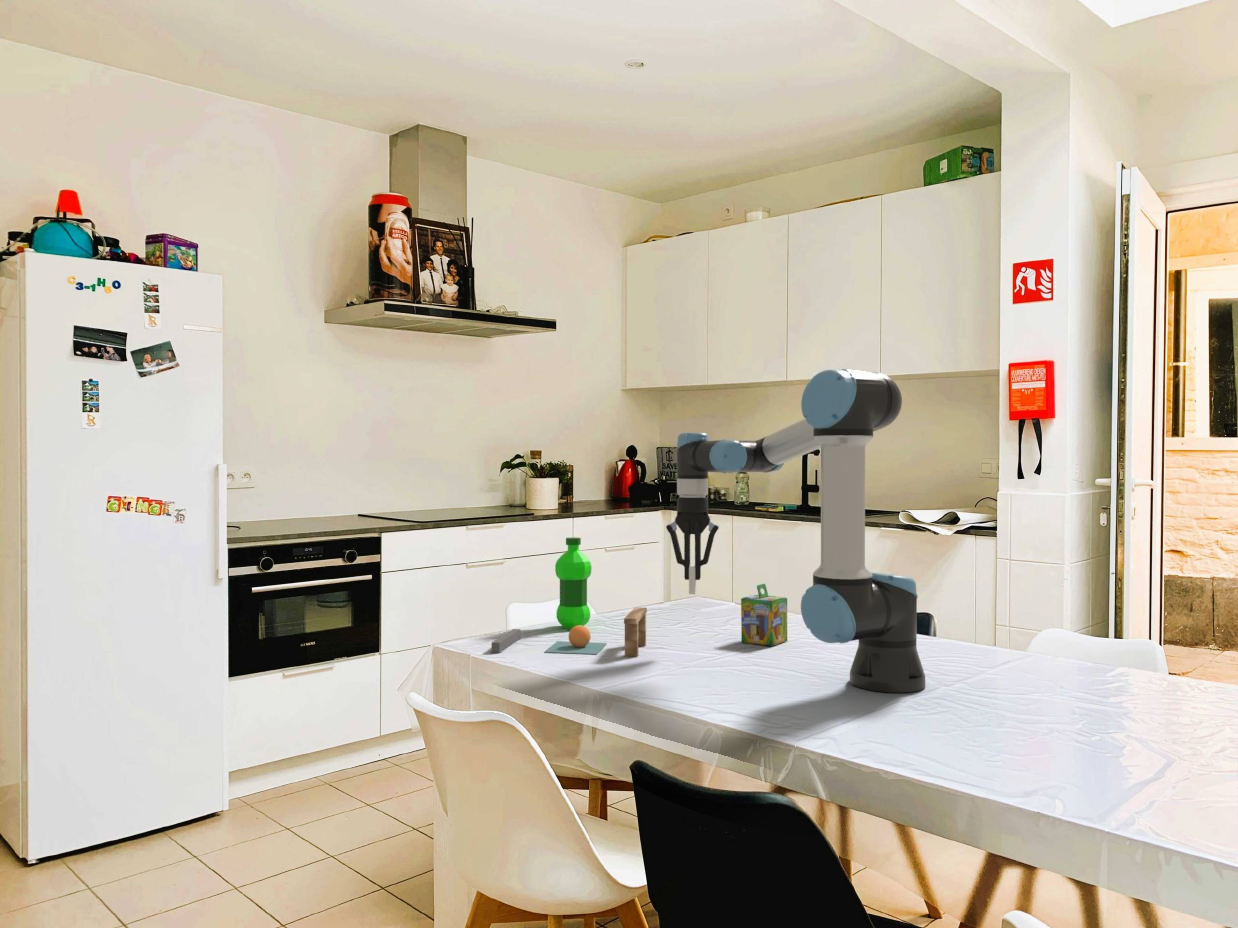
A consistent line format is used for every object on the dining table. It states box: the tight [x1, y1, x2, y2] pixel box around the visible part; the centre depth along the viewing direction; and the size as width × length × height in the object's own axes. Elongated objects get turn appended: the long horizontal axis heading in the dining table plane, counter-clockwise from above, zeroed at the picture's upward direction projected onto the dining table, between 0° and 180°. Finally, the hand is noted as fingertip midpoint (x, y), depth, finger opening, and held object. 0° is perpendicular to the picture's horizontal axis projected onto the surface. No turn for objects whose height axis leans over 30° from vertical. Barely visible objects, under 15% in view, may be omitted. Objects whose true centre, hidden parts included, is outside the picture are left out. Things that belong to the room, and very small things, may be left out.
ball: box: [568, 625, 591, 647], centre depth 226 cm, size 6×6×6 cm
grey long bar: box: [491, 628, 522, 654], centre depth 228 cm, size 18×2×2 cm, turn 170°
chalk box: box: [740, 583, 788, 647], centre depth 233 cm, size 9×9×15 cm
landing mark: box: [543, 640, 608, 656], centre depth 225 cm, size 13×13×1 cm
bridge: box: [623, 607, 648, 658], centre depth 222 cm, size 3×16×9 cm, turn 170°
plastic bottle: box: [554, 537, 592, 630], centre depth 253 cm, size 10×10×25 cm
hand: (692, 593), depth 220 cm, fingers closed
